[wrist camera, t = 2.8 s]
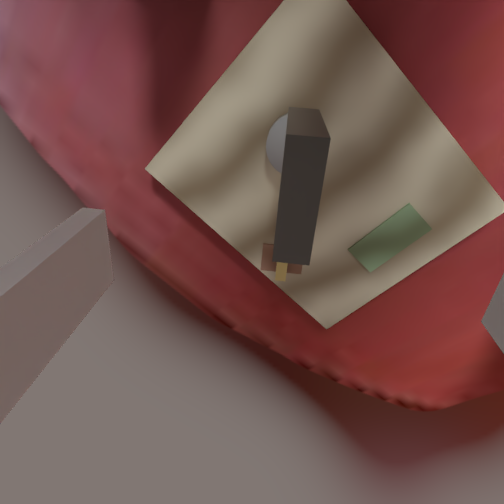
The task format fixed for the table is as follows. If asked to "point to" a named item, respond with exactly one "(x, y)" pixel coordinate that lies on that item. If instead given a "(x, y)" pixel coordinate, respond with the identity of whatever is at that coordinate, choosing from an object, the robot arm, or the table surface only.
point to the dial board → (328, 160)
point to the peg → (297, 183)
